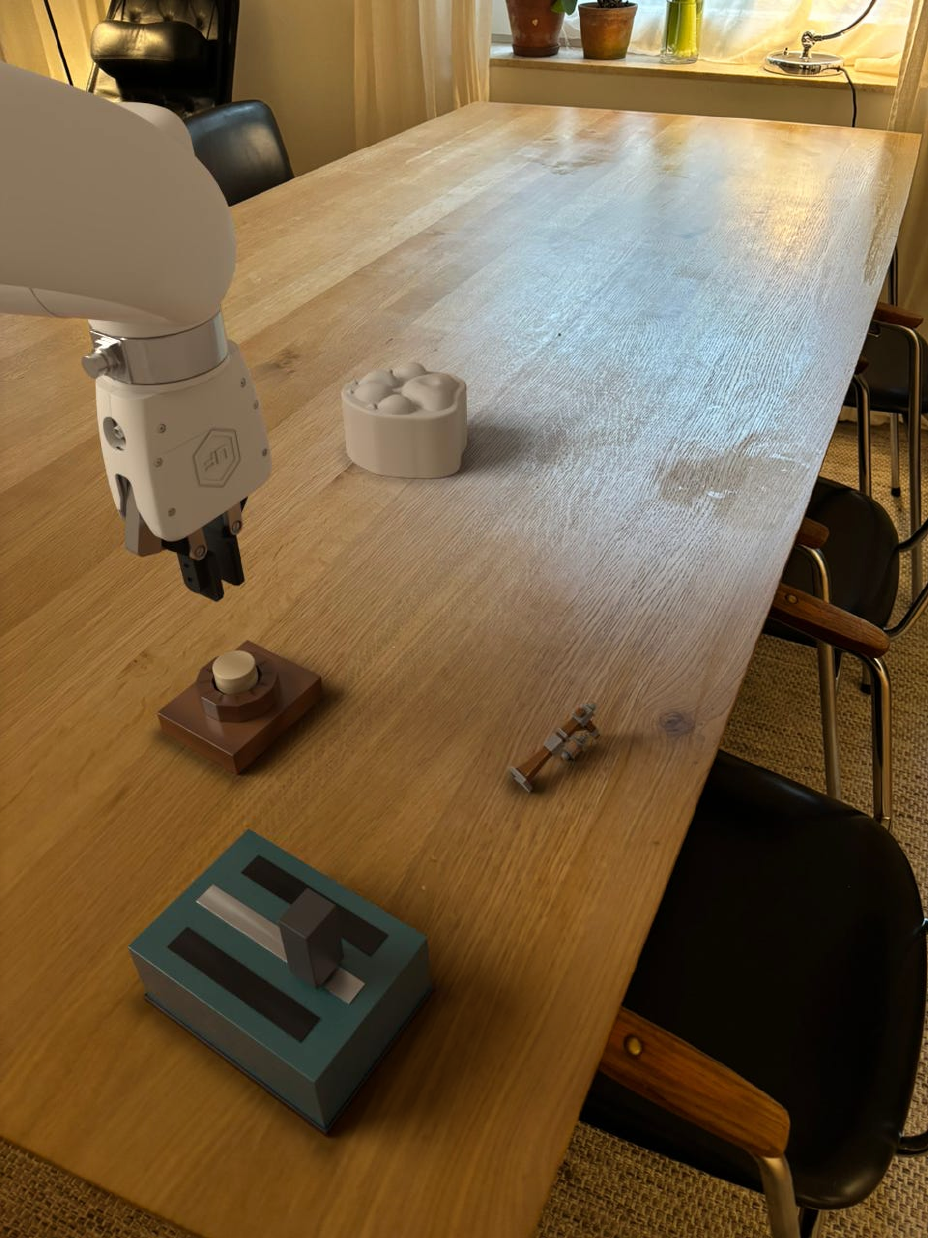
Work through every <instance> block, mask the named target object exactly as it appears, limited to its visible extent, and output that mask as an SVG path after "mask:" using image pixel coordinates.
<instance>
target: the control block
mask: <svg viewBox="0 0 928 1238" xmlns="http://www.w3.org/2000/svg"><path fill="white" fill-rule="evenodd" d="M233 651H245V652H247V653H249V654H251V655H252V656H253V657H254V659H255V663H256V668H257V673H258V681H257V684H256V685H255V686H254V688H252V689H251V690H250V691H248V692H245V693H242V694H239V695H228V694H225V693H223V692H221V691H220V690H219V689H218V688H217V685H216V681H215V677H214V673H213V664H214V662H215V660H216V659H217V658H218V657H219V656H221V655H222V654H220V655H217V656H215V657H213V658H212V659H211V660H209V662H207V663H206V664H204V665H203V666H202V667H201V668H200V669H199V672H198V674H197V677H196V680H195V681H194V682H193V683H192V684H190V685H188V687H186V688H185V689H184V690H182V692H180V693H179V694H178V695H176V696H175V697H174V698H173V699H172V700H170V701H168V702H167V704H165V705H164V706H163V707H161V709H159V710H158V711H157V712H156V715H157V718H158V722H159V725H160V728H161V732H162V733H164V734H166V735H167V736H169V737H171V738H172V739H174V740H176V741H178V742H179V743H181V744H183V745H184V746H186V747H188V748H190V749H191V750H193V751H194V752H196V753H198V754H200V755H202V756H203V757H205V758H207V759H209V760H210V761H212V762H214V763H216V764H218V765H219V766H221V767H222V768H224V769H226V770H228V771H230V772H231V773H233V774H235V776H238V775H240V773H241V772H243V771H245V769H246V768H247V767H248V766H249V765H251V763H253V762H254V761H255V760H256V759H257V758H258V757H259V756H260V755H261V754H262V753H264V752H265V751H266V750H267V749H268V748H269V747H270V746H271V745H272V744H273V743H274V742H276V740H278V739H279V738H280V737H281V736H282V735H283V734H284V733H285V732H286V731H287V730H289V729H290V728H291V727H292V726H293V725H294V724H295V723H296V722H297V721H298V720H299V719H300V718H302V717H303V716H304V715H305V714H306V713H307V712H308V711H309V710H310V709H311V708H313V706H314V705H316V704H317V703H318V702H319V701H320V700H322V698H324V696H325V693H324V687H323V681H322V676H321V675H319V674H317V673H315V672H313V671H311V670H309V669H307V668H305V667H303V666H301V665H299V664H297V663H295V662H293V661H291V660H289V659H287V658H285V657H283V656H281V655H279V654H277V653H274V652H273V651H271V650H269V649H267V648H265V647H262V646H261V645H258V644H257V643H255V642H253V641H250V640H249V639H246V640H245V641H244V642H242V643H241V644H240V645H239V646H237V647H236V648H235V649H234V650H233Z"/></svg>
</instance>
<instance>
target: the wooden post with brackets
mask: <svg viewBox="0 0 928 1238" xmlns="http://www.w3.org/2000/svg"><path fill="white" fill-rule="evenodd" d="M596 710H597V703H595V702H594V701H589V702H588V703H584V702H582V704H581V705H580V706H579V707H578V708H577V709H576V710H574V712H573V713H572V714H571V718H570V719H569V720H568V721H567V722H566V723H564V724H563V726H562V727H557V728H556V729H555V731H556V733H555V732H552V733H551V735H550V737H548V738H547V739H546V740H545V741H544V742H542V747H541V748H539V750H537V751H536V752H535V753H534V754H533V755H531V756H530V757H529V758H527V759H526V760H525V761H524V762H522V763H521V764H519V765H517V766H516V767H514V766H513V765H512V764H511V765H510V766H509V767H507V768H506V769H507V770H508V772H510V774H511V775H512V777H513V778H514V779H515V780H516V781H517V782H518V783H519V785H521V786H522V787H523V788H524V789H525V790H526V791H527V792H528V793H531V791H532V790H533V789H534V787H532V785H531V784H532V782H533V780H534V779H535V778H536V776H537V775H538V774H539V773H540V771H541V770H542V769H543V767H544V766H545V764H546V763H548V761H549V760H550V759H552V757H554V758H555V757H556V755H558V753H559V752H560V751H561V750H562V749H563V752H562V753H561V754H560V755H561V759H562V760H564V761H567V760H569V759H570V758H571V759H573V760H575V758H576V756H577V755H578V754H579V753H580V752H581V751H583V752H585V747H584V744H585V743H587V738H589V737H592V738H593V739H594V740H596V741H597V740H598V739H599V737H601V734H600V730H599V729H598V727H597V726H596V725H595V724H594V722H593V721H592V718H594V717H595V716H596V714H595V711H596ZM582 731H585V732H584V735H582V734H579V737H574V736H573V735H574V734H575V733H577V732H582ZM588 734H589V735H588ZM570 738H571V739H570ZM566 743H567V744H566Z"/></svg>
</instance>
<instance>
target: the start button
mask: <svg viewBox="0 0 928 1238" xmlns="http://www.w3.org/2000/svg"><path fill="white" fill-rule="evenodd" d="M220 655H221V656H220ZM220 655H218V656H219V657H218V658H217V659H216V660H215V662H214V664H213V673H214V677H215V681H216V685H217V688H218V689H219V690H220V691H221V692H223V693H225V694H228V695H239V694H242V693H245V692H248V691H250V690H251V689H252V688H254V686H255V685H256V684H257V681H258V673H257V668H256V663H255V659H254V657H253V656H252V655H251V654H249V653H247V652H245V651H234V650H230V651H227V652H224V653H223V654H220Z"/></svg>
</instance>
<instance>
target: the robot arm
mask: <svg viewBox="0 0 928 1238" xmlns="http://www.w3.org/2000/svg"><path fill="white" fill-rule="evenodd" d="M237 244H238V243H237V236H236V229H235V224H234V220H233V216H232V212H231V209H230V206H229V205H228V202H227V200H226V197H225V195H224V193H223V192H222V190H221V188H220V185H219V183H218V182H217V180H215V178H214V176H213V174H211V172H210V171H209V170H208V169H207V167H206V166H205V165H204V164H203V163H202V162H201V160H199V158H198V157H197V156H196V154H195V150H194V145H193V141H192V137H191V135H190V132H189V129H188V128H187V126H186V125H185V123H184V121H183V120H182V119H181V118H180V117H179V116H178V114H176V113H175V112H173V111H171V110H170V109H168V108H166V107H163V106H160V105H156V104H151V103H145V102H137V101H136V102H135V101H119V102H113V101H111V100H108V99H106V98H104V97H101V96H99V95H97V94H95V93H92V92H90V91H88V90H84V89H82V88H80V87H77V86H75V85H71V84H68V83H67V82H63V81H60V80H58V79H55V78H52V77H49V76H47V75H43V74H41V73H38V72H35V71H32V70H29V69H26V68H22V67H20V66H17V65H14V64H11V63H9V62H6V61H2V60H0V314H6V315H16V316H29V317H39V318H51V319H54V318H55V319H62V320H63V319H64V320H65V319H66V320H67V319H78V320H87V324H88V327H89V331H88V332H89V336H90V340H91V344H92V347H93V348H92V349H91V350H90V352H89V353H87V354H85V355H83V356H82V357H81V360H80V361H81V365H82V368H83V371H85V373H86V374H87V376H89V377H90V378H92V379H95V403H96V415H97V417H96V418H97V426H98V432H99V433H98V434H99V441H100V445H101V452H102V456H103V462H104V466H105V471H106V472H105V473H106V475H107V481H108V484H109V489H110V493H111V495H112V499H113V501H114V504H115V508H116V509H117V512H118V515H119V517H120V518H121V520H122V521H124V522H125V524H124V525H125V529H124V548H125V550H126V551H128V552H130V553H131V554H134V555H136V556H138V557H141V558H145V557H149V556H153V555H156V554H159V553H162V552H164V551H169V552H172V553H176V556H177V560H178V564H179V569H180V572H181V577H182V580H183V584H184V586H185V587H186V588H187V589H188V590H189V591H191V592H192V593H194V594H197V595H201V596H203V597H205V598H207V599H209V600H211V601H214V602H215V603H218V602H219V601H221V600H222V599H223V598H224V596H225V590H224V585H223V582H225V583H228V584H230V585H232V586H234V587H240V586H241V585H243V584H244V583H245V582H246V579H245V574H244V567H243V564H242V556H241V551H240V546H239V541H238V535H239V534H240V533H241V532H242V530H243V527H244V521H243V511H244V509H245V506H246V504H247V501H248V499H249V496H251V495H252V494H253V493H255V492H257V490H259V489H260V488H262V486H264V484H265V483H266V482H267V481H268V480H269V478H270V477H271V475H272V472H273V462H272V461H273V459H272V458H273V457H272V452H271V447H270V443H269V442H270V441H269V436H268V432H267V427H266V423H265V419H264V416H263V411H262V407H261V403H260V399H259V396H258V393H257V389H256V386H255V383H254V379H253V378H252V375H251V373H250V370H249V367H248V365H247V363H246V360H245V358H244V355H243V353H242V352H241V349H240V347H239V345H238V344H237V342H236V341H234V340H232V339H229V338H228V337H227V331H226V330H227V329H226V324H225V318H224V313H223V307H222V302H223V301H224V299H225V297H226V296H227V294H228V291H229V289H230V287H231V286H232V282H233V278H234V276H235V275H234V274H235V271H236V265H237V256H238V255H237V254H238V251H237V249H238V248H237V246H238V245H237Z"/></svg>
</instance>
